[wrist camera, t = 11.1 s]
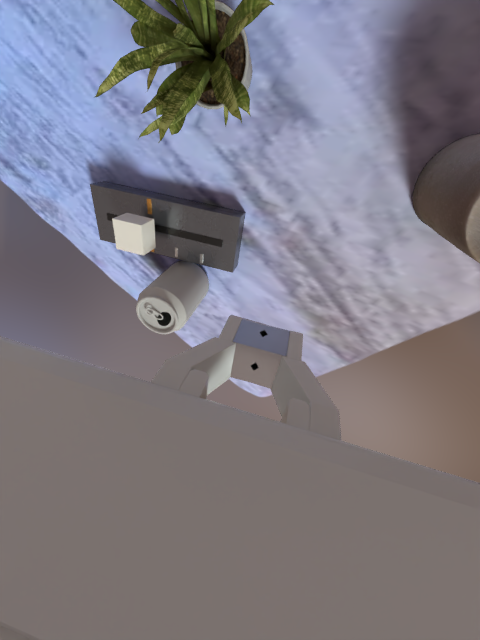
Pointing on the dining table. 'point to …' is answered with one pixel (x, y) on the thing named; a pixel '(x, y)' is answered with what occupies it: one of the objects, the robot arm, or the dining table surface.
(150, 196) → the fader panel
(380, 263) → the dining table surface
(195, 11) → the house plant
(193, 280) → the can
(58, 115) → the dining table surface
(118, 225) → the fader knob
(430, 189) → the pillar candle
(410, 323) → the dining table surface
